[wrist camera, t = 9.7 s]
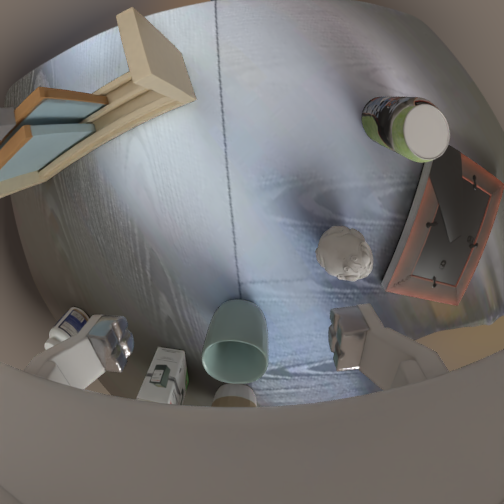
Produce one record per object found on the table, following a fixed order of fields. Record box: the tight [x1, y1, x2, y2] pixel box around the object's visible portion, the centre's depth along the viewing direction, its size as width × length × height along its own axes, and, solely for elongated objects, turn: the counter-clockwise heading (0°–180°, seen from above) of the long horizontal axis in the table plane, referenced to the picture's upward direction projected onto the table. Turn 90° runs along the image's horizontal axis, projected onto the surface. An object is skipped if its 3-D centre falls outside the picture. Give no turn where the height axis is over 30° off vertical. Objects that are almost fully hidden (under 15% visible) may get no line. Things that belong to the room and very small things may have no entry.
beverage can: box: [362, 97, 450, 162], centre depth 22 cm, size 6×7×12 cm
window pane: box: [0, 87, 109, 149], centre depth 19 cm, size 2×11×16 cm, turn 107°
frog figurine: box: [315, 226, 373, 281], centre depth 30 cm, size 6×7×7 cm
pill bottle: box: [45, 307, 89, 350], centre depth 36 cm, size 5×5×10 cm
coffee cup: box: [211, 383, 257, 407], centre depth 39 cm, size 11×11×15 cm
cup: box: [202, 299, 269, 384], centre depth 34 cm, size 8×8×10 cm
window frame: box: [0, 7, 197, 198], centre depth 21 cm, size 7×26×14 cm, turn 107°
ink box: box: [137, 347, 189, 405], centre depth 38 cm, size 9×5×12 cm, turn 177°
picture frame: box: [381, 145, 504, 306], centre depth 31 cm, size 16×2×22 cm
